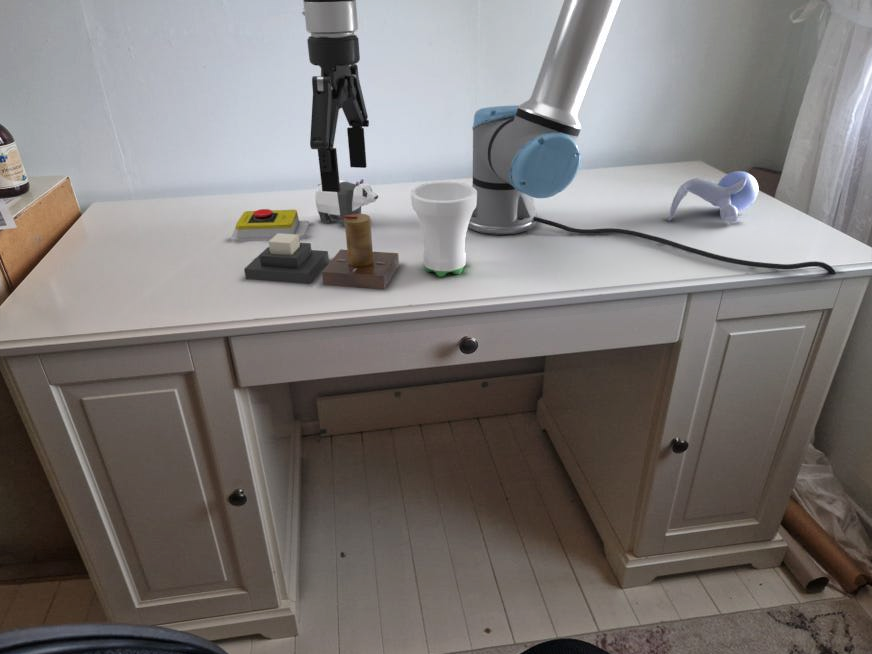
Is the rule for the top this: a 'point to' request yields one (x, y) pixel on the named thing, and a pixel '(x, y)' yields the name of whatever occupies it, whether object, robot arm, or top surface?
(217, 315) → the top surface
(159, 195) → the top surface
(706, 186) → the seal
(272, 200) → the top surface
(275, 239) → the cream square push button
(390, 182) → the top surface
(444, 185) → the cup
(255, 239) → the emergency button
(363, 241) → the volume knob
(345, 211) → the giant panda
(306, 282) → the grey stepped base
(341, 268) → the volume panel
